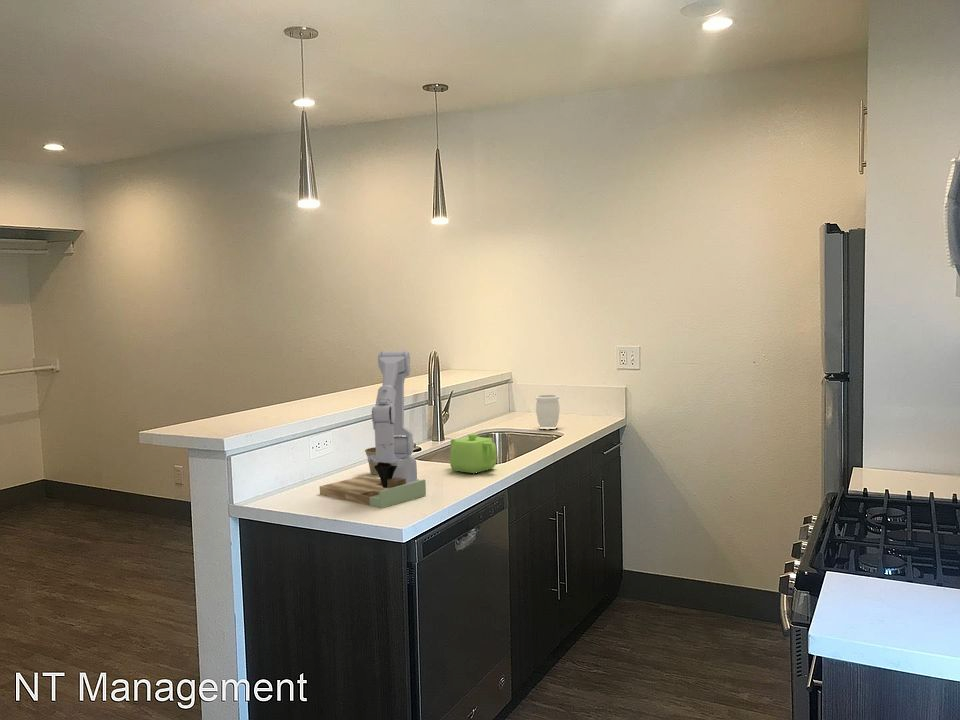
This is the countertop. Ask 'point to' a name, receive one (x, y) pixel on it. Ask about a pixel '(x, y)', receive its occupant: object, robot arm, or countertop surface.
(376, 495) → the box
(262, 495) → the countertop surface
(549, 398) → the jar
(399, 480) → the walnut block
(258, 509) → the countertop surface
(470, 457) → the teapot
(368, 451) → the flower pot
